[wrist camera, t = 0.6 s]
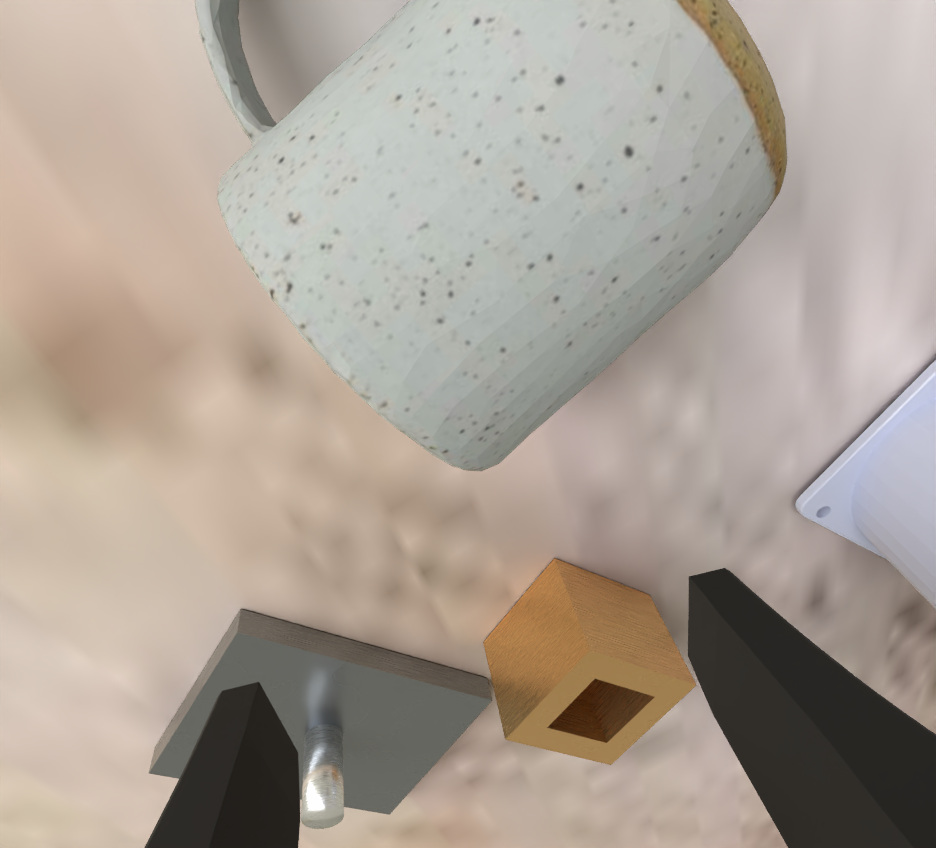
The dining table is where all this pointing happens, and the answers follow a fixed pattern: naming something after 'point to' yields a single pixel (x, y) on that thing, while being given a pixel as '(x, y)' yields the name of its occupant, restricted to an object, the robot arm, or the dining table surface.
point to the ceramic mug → (499, 197)
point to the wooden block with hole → (583, 665)
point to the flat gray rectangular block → (334, 712)
